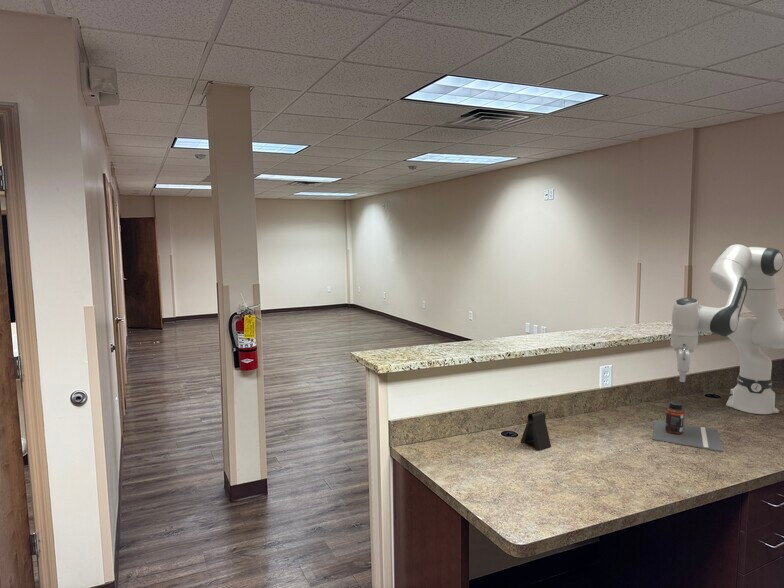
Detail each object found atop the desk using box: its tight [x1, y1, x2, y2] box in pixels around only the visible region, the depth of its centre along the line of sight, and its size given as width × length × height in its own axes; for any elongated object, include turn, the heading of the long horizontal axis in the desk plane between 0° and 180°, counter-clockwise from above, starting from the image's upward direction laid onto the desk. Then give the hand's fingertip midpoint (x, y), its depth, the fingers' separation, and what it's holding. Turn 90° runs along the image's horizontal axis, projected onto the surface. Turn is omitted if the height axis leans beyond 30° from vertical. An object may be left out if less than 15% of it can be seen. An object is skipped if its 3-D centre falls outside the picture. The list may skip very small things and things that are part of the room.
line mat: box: [652, 419, 723, 453], centre depth 196 cm, size 22×22×1 cm
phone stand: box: [520, 410, 552, 451], centre depth 187 cm, size 9×6×12 cm, turn 31°
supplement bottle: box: [665, 401, 685, 434], centre depth 197 cm, size 6×6×11 cm
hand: (682, 378), depth 195 cm, fingers open, 8 cm apart
